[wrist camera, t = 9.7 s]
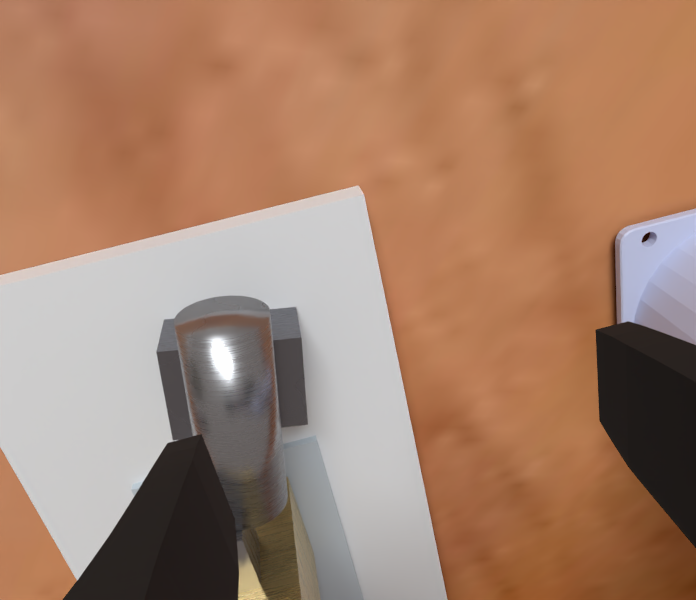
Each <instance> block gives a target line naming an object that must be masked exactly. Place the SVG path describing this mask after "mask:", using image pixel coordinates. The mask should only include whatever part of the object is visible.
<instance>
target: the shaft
mask: <svg viewBox="0 0 696 600" xmlns="http://www.w3.org/2000/svg"><path fill="white" fill-rule="evenodd" d="M156 353H157V358H158V364H159V369H160V375H161V380H162V385H163V391H164V396H165V401H166V407H167V412H168V417H169V423H170V428H171V434H172V439H173V440H181V439H185V438H188V437H192V436H196V435H200V434H202V437H203V439H204V442H205V444H206V447H207V449H208V452H209V454H210V457H211V459H212V462H213V465H214V467H215V470H216V472H217V475H218V477H219V480H220V482H221V485H222V488H223V490H224V493H225V495H226V498H227V500H228V503H229V505H230V508H231V510H232V513H233V516H234V518H235V525H236V530H246V529H252V528H256V527H259V526H262V525H264V524H266V523H268V522H270V521H271V520H273V519H274V518H276V517H277V516H278V515H279V514H280V513H281V512H282V510H283V509H284V507H285V505H286V503H287V499H288V491H287V481H286V470H285V460H284V450H283V439H282V429H281V428H283V427H291V426H300V425H308V418H307V405H306V392H305V378H304V365H303V351H302V338H301V332H300V326H299V321H298V315H297V309H296V307H289V308H279V309H269V307H268V305H267V304H265V303H264V302H263V301H261V300H258V299H256V298H252V297H247V296H219V297H213V298H208V299H204V300H201V301H198V302H195V303H193V304H191V305H189V306H187V307H185V308H184V309H182V310H181V311H180V312H179V313H178V314H177V315H176V317H175V318H174V319H164V322H163V326H162V330H161V334H160V339H159V343H158V347H157V351H156Z"/></svg>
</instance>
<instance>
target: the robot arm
mask: <svg viewBox="0 0 696 600" xmlns="http://www.w3.org/2000/svg"><path fill="white" fill-rule="evenodd" d="M648 232H650V236H649V238H648V239H647V241H645V242H643V243H642V238H643V236H644V235H645V234H646V233H648ZM615 262H616V302H617V324H616V325H612V326H608V327H605V328H601V329H597V330H596V346H597V370H598V394H599V417H600V422H601V424H602V426H603V427H604V429H605V430H606V432H607V434H608V435H609V437H610V439H611V440H612V442H613V444H614V445H615V447H616V448H617V450H618V451H619V453H620V455H621V456H622V458H623V459H624V461H625V462H626V464H627V465H628V467H629V468H630V469H631V471H632V472H633V473H634V474H635V476H636V477H637V478H638V479H639V480H640V482H641V483H642V484H643V485H644V487H645V488H646V489H647V490H648V491H649V493H650V494H651V495H652V496H653V497H654V499H655V500H656V501H657V502H658V503H659V505H660V506H661V507H662V508H663V509H664V511H665V512H666V513H667V514H668V515H669V517H670V518H671V519H672V520H673V521H674V523H675V524H676V525H677V526H678V527H679V528H680V530H681V531H682V532H683V533H684V534H685V536H686V537H687V538H688V539H689V540H690V542H691V543H692V544H693V545H694V546H695V548H696V209H692V210H688V211H684V212H680V213H676V214H673V215H669V216H665V217H661V218H657V219H653V220H649V221H645V222H642V223H638V224H634V225H630V226H627V227H625V228H623V229H622V230H621V231H620V232H619V233H618V235H617V237H616V240H615ZM238 588H239V565H238V549H237V537H236V525H235V518H234V516H233V513H232V510H231V508H230V505H229V503H228V500H227V498H226V495H225V493H224V490H223V488H222V485H221V482H220V480H219V477H218V475H217V472H216V470H215V467H214V465H213V462H212V459H211V457H210V454H209V452H208V449H207V447H206V444H205V442H204V439H203V437H202V434H200V435H196V436H192V437H188V438H185V439H181V440H177V441H173V442H169V443H167V444H166V446H165V448H164V449H163V451H162V452H161V454H160V455H159V457H158V459H157V460H156V462H155V463H154V465H153V467H152V468H151V470H150V472H149V473H148V475H147V476H146V478H145V480H144V481H143V483H142V485H141V486H140V488H139V490H138V491H137V493H136V494H135V496H134V498H133V499H132V501H131V503H130V504H129V506H128V507H127V509H126V510H125V512H124V513H123V515H122V517H121V518H120V520H119V521H118V523H117V524H116V526H115V527H114V529H113V531H112V532H111V534H110V535H109V537H108V538H107V540H106V541H105V542H104V544H103V545H102V547H101V548H100V549H99V551H98V552H97V554H96V555H95V556H94V558H93V559H92V561H91V562H90V563H89V565H88V566H87V568H86V569H85V571H84V572H83V573H82V575H81V576H80V578H79V579H78V580H77V582H76V583H75V584H74V586H73V587H72V588H71V590H70V591H69V592H68V594H67V595H66V596H65V597H64V599H63V600H238Z"/></svg>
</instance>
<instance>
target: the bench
mask: <svg viewBox="0 0 696 600" xmlns="http://www.w3.org/2000/svg"><path fill="white" fill-rule="evenodd" d="M219 296H247V297H252V298H256V299H258V300H261V301H263V302H264V303H265V304H267V305H268V307H269V309H279V308H289V307H296V309H297V315H298V321H299V326H300V332H301V338H302V351H303V365H304V378H305V392H306V405H307V418H308V425H300V426H291V427H283V428H281V429H282V439H283V450H284V460H285V470H286V477H288V479H289V482H290V485H291V488H292V490H293V493H294V496H295V499H296V502H297V505H298V508H299V511H300V514H301V517H302V520H303V523H304V526H305V529H306V532H307V534H308V537H309V540H310V543H311V546H312V549H313V552H314V557H315V564H316V571H317V578H318V586H319V593H320V600H447V595H446V590H445V585H444V580H443V576H442V571H441V566H440V561H439V556H438V551H437V547H436V542H435V537H434V532H433V527H432V522H431V517H430V513H429V508H428V503H427V498H426V493H425V488H424V484H423V479H422V474H421V469H420V464H419V459H418V454H417V450H416V445H415V440H414V435H413V430H412V425H411V421H410V416H409V411H408V406H407V401H406V396H405V391H404V387H403V382H402V377H401V372H400V367H399V362H398V358H397V353H396V348H395V343H394V338H393V333H392V328H391V324H390V319H389V314H388V309H387V304H386V299H385V295H384V290H383V285H382V280H381V275H380V270H379V265H378V261H377V256H376V251H375V246H374V241H373V236H372V231H371V227H370V222H369V217H368V212H367V207H366V202H365V198H364V194H363V192H362V191H361V189H360V187H359V186H354V187H350V188H346V189H342V190H338V191H334V192H330V193H326V194H322V195H318V196H314V197H310V198H306V199H302V200H298V201H294V202H290V203H286V204H282V205H278V206H274V207H270V208H266V209H262V210H258V211H254V212H250V213H246V214H242V215H238V216H234V217H230V218H226V219H222V220H218V221H214V222H210V223H206V224H202V225H198V226H194V227H190V228H186V229H182V230H178V231H174V232H170V233H166V234H163V235H159V236H155V237H151V238H147V239H143V240H139V241H135V242H131V243H127V244H123V245H119V246H115V247H111V248H107V249H103V250H99V251H95V252H91V253H87V254H83V255H79V256H75V257H71V258H67V259H63V260H59V261H55V262H51V263H47V264H43V265H39V266H35V267H31V268H27V269H23V270H19V271H15V272H11V273H7V274H3V275H0V447H1V449H2V451H3V452H4V454H5V456H6V458H7V459H8V461H9V463H10V465H11V466H12V468H13V470H14V472H15V473H16V475H17V477H18V479H19V480H20V482H21V484H22V486H23V487H24V489H25V491H26V492H27V494H28V496H29V498H30V499H31V501H32V503H33V505H34V506H35V508H36V510H37V512H38V513H39V515H40V517H41V519H42V520H43V522H44V524H45V525H46V527H47V529H48V531H49V532H50V534H51V536H52V538H53V539H54V541H55V543H56V545H57V546H58V548H59V550H60V552H61V553H62V555H63V557H64V559H65V560H66V562H67V564H68V565H69V567H70V569H71V571H72V572H73V574H74V576H75V578H76V579H77V580H78V579H79V578H80V576H81V575H82V573H83V572H84V571H85V569H86V568H87V566H88V565H89V563H90V562H91V561H92V559H93V558H94V556H95V555H96V554H97V552H98V551H99V549H100V548H101V547H102V545H103V544H104V542H105V541H106V540H107V538H108V537H109V535H110V534H111V532H112V531H113V529H114V527H115V526H116V524H117V523H118V521H119V520H120V518H121V517H122V515H123V513H124V512H125V510H126V509H127V507H128V506H129V504H130V503H131V501H132V499H133V498H134V496H135V494H136V493H137V491H138V490H139V488H140V486H141V485H142V483H143V481H144V480H145V478H146V476H147V475H148V473H149V472H150V470H151V468H152V467H153V465H154V463H155V462H156V460H157V459H158V457H159V455H160V454H161V452H162V451H163V449H164V448H165V446H166V444H167V443H169V442H173V441H177V440H173V439H172V434H171V428H170V423H169V417H168V412H167V407H166V401H165V396H164V391H163V385H162V380H161V375H160V369H159V364H158V358H157V353H156V351H157V347H158V343H159V339H160V334H161V330H162V326H163V322H164V319H174V318H175V317H176V315H177V314H178V313H179V312H180V311H181V310H182V309H184V308H185V307H187V306H189V305H191V304H193V303H195V302H198V301H201V300H204V299H208V298H213V297H219Z"/></svg>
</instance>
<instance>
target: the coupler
mask: <svg viewBox="0 0 696 600" xmlns="http://www.w3.org/2000/svg"><path fill="white" fill-rule="evenodd" d="M286 481H287V491H288V499H287V503H286V505H285V507H284V509H283V510H282V512H281V513H280V514H279V515H278V516H277V517H276V518H274V519H273V520H271V521H270V522H268V523H266V524H264V525H262V526H259V527H256V528H252V529H246V530H236V537H237V549H238V565H239V588H238V600H320V593H319V586H318V578H317V571H316V564H315V557H314V552H313V549H312V546H311V543H310V540H309V537H308V534H307V532H306V529H305V526H304V523H303V520H302V517H301V514H300V511H299V508H298V505H297V502H296V499H295V496H294V493H293V490H292V488H291V485H290V482H289V479H288V477H286Z"/></svg>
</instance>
